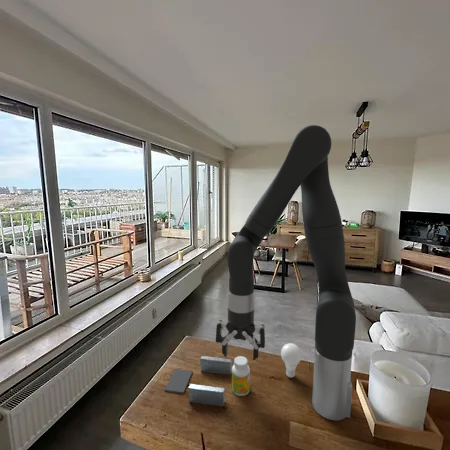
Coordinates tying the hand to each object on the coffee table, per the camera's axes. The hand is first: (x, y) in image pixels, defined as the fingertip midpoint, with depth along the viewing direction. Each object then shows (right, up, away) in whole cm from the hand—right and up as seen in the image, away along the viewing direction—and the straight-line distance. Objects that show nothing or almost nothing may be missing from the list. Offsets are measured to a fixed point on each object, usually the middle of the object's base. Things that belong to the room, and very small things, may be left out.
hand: (239, 356), depth 79 cm
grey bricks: (-8, -10, +3) cm, 14 cm away
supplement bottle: (0, -11, +2) cm, 11 cm away
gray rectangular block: (-19, -10, +5) cm, 22 cm away
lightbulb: (+17, -10, +7) cm, 20 cm away
